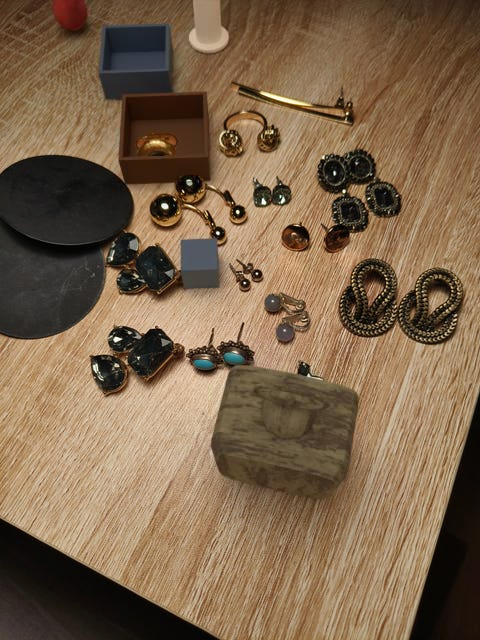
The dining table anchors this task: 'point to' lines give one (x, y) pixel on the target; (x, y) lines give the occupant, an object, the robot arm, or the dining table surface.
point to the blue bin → (136, 60)
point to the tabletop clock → (284, 431)
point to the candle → (208, 27)
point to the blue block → (200, 263)
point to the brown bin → (172, 117)
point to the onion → (70, 13)
